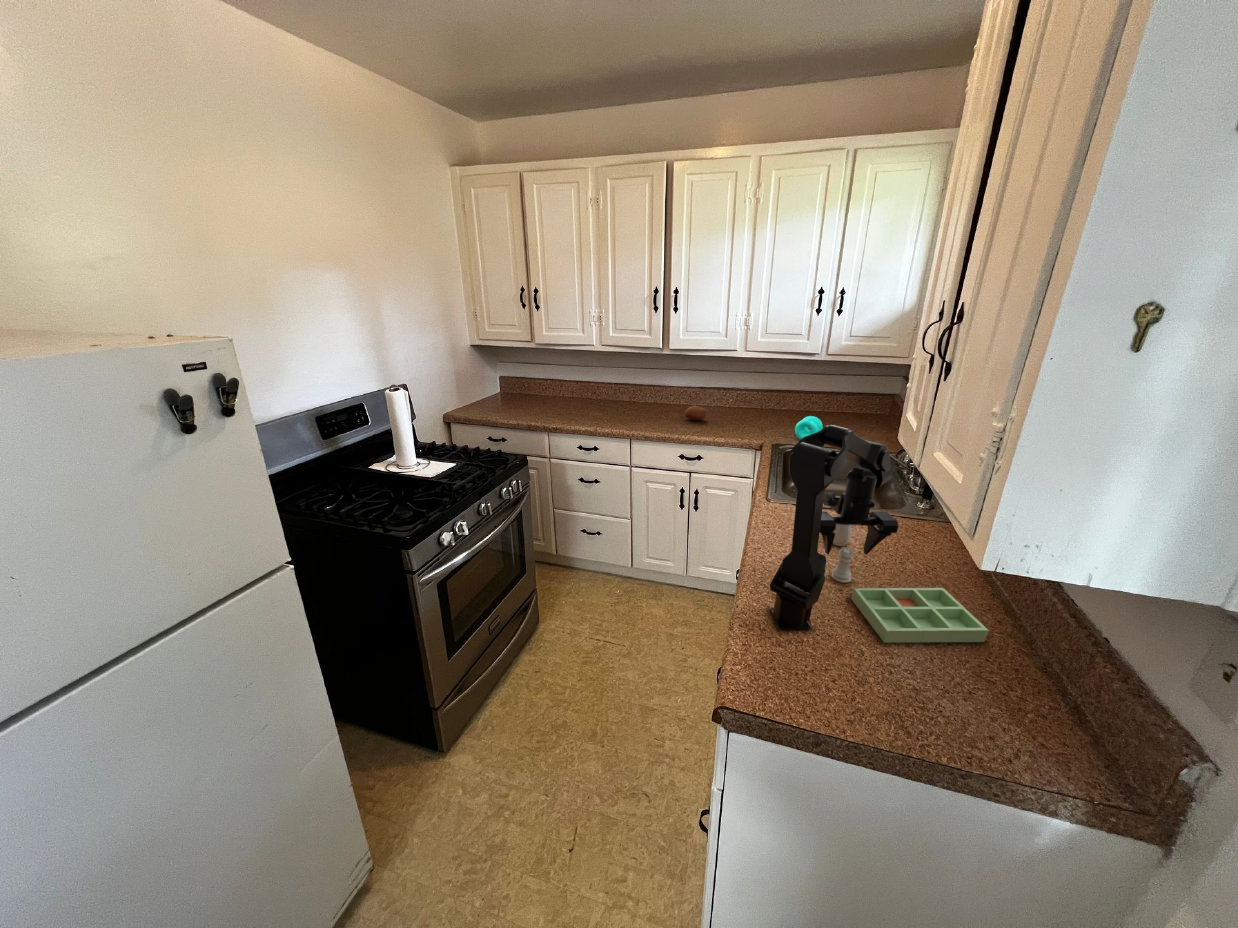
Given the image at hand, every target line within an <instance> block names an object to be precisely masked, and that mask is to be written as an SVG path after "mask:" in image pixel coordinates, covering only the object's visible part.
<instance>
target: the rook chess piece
mask: <svg viewBox="0 0 1238 928" xmlns="http://www.w3.org/2000/svg"><path fill="white" fill-rule="evenodd" d="M838 554H839V556H838V562H837V565H836V566H835V568H833V569H832V571H831V572H832V573H831V574H830V575H831V578H832V579H833V580H834V581H835V582H837V583H841V584H847V583H849V582H851V581H852V575H853V574H852V572H851V568H850V565H851V562H852V558H853V557H854V556H855V555H854V552H853V549H852V548H849V547H845V546H842V547H841V548H840V550H839V551H838Z"/></svg>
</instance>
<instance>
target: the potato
mask: <svg viewBox="0 0 1238 928" xmlns="http://www.w3.org/2000/svg"><path fill="white" fill-rule="evenodd" d="M684 416H685V418H686V419H688V420H692V421H694V422H700V421H703V420H704V419H705V418H706V417H707V410H706V409H705V408H704V407H701V406H698V405H692V406H690V407H688V408H687V409H686V410H685V412H684Z"/></svg>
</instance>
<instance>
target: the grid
mask: <svg viewBox="0 0 1238 928" xmlns="http://www.w3.org/2000/svg"><path fill="white" fill-rule="evenodd" d="M850 599H851V601H852V602H853V603H854V604H855V606H856V607H857V609H858V610H859V612H860V613H861V614H862V615H863V617H864V618H865V619H866V621H867V622H868V623H869V625H870V627H872V629H873V630H874V632H875V633H876V634H877V635H878V637H879V638H880V639H881V641H882V642H883V643H887V644H888V643H892V644H893V643H985V642H986V638H987V636H988V633H989V629H988V628H987V627H986V626H984V624H983V623H981V621H980V620H979V619H977V618H976V617H975V616H974V615H973V614H972V613H971V612H970V611H969V610H968V609H966V608H965V607H964V605H962V604H961V603H960V602H959V601H958V600H957V599H956V598H954V597H953V595H952V594H950V592H949V591H947V590H946V589H945V587H854V588H853V590H852V594H851V598H850Z"/></svg>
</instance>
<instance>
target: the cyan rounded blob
mask: <svg viewBox="0 0 1238 928" xmlns="http://www.w3.org/2000/svg"><path fill="white" fill-rule="evenodd" d="M823 428H824V425H823V423H822V421H821V419H820V418H818V417H817V416H814V415H808V416H805V417H804V418H803V419H802V420H800V421H798V422H797V423H796V424H795V427H794V433H795V436H796V437H797V438H798V439H799V441H800V440H801V439H802V438H803V437H805V436H808V435H811V434H814V433H816V432H819V431H821V430H822V429H823Z"/></svg>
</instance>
